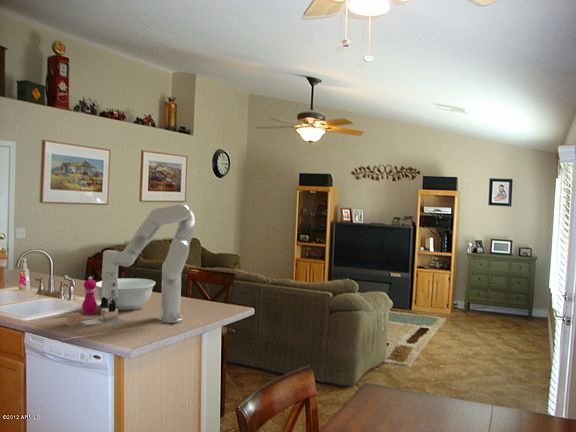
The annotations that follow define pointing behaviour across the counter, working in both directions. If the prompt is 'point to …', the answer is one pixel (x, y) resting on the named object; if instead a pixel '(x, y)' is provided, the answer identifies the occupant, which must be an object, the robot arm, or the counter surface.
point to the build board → (93, 322)
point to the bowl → (130, 292)
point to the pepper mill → (89, 297)
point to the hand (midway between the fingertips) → (107, 309)
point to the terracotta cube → (74, 319)
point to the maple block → (109, 315)
